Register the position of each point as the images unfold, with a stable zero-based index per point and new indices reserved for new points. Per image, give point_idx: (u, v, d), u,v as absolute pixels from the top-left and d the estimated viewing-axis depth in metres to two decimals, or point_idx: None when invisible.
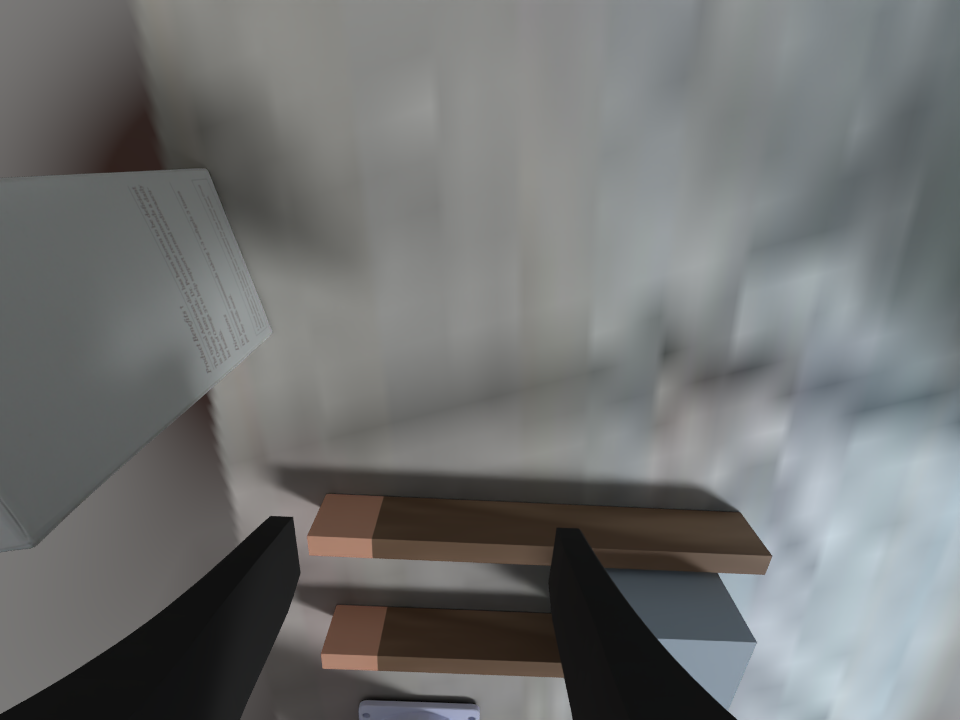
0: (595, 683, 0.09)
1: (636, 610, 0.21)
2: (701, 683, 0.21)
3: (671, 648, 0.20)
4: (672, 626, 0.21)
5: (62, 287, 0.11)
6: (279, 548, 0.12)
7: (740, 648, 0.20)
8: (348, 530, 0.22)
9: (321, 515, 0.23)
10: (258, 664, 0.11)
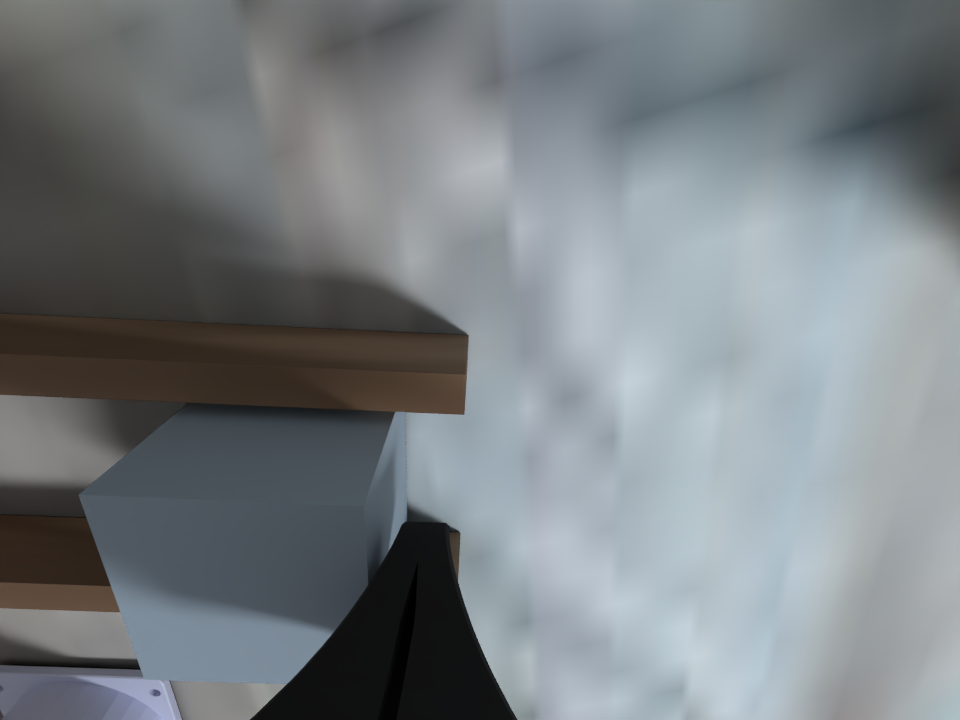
0: None
1: (174, 460, 0.11)
2: (296, 597, 0.11)
3: (199, 522, 0.10)
4: (216, 481, 0.11)
5: None
6: None
7: (337, 520, 0.10)
8: None
9: None
10: None
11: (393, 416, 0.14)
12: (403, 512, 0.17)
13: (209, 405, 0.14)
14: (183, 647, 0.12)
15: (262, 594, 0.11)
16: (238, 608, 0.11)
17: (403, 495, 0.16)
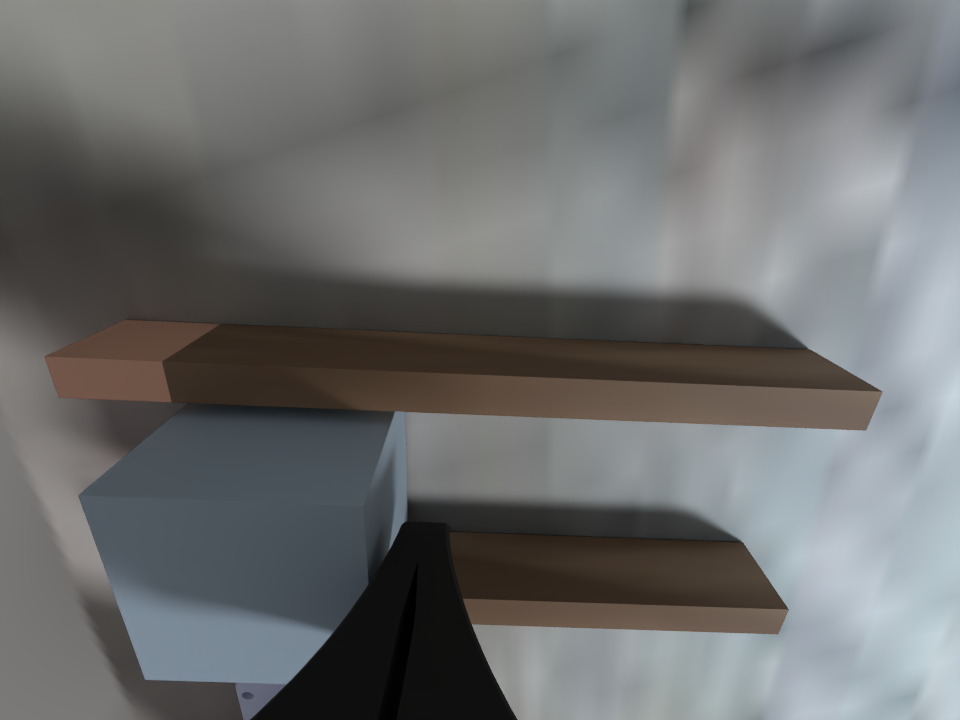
0: None
1: (173, 460, 0.11)
2: (296, 597, 0.11)
3: (200, 522, 0.10)
4: (217, 481, 0.11)
5: None
6: None
7: (337, 520, 0.10)
8: (127, 352, 0.13)
9: (94, 338, 0.13)
10: None
11: (393, 416, 0.14)
12: (403, 512, 0.17)
13: (209, 405, 0.14)
14: (183, 647, 0.12)
15: (263, 594, 0.11)
16: (238, 607, 0.11)
17: (403, 495, 0.16)
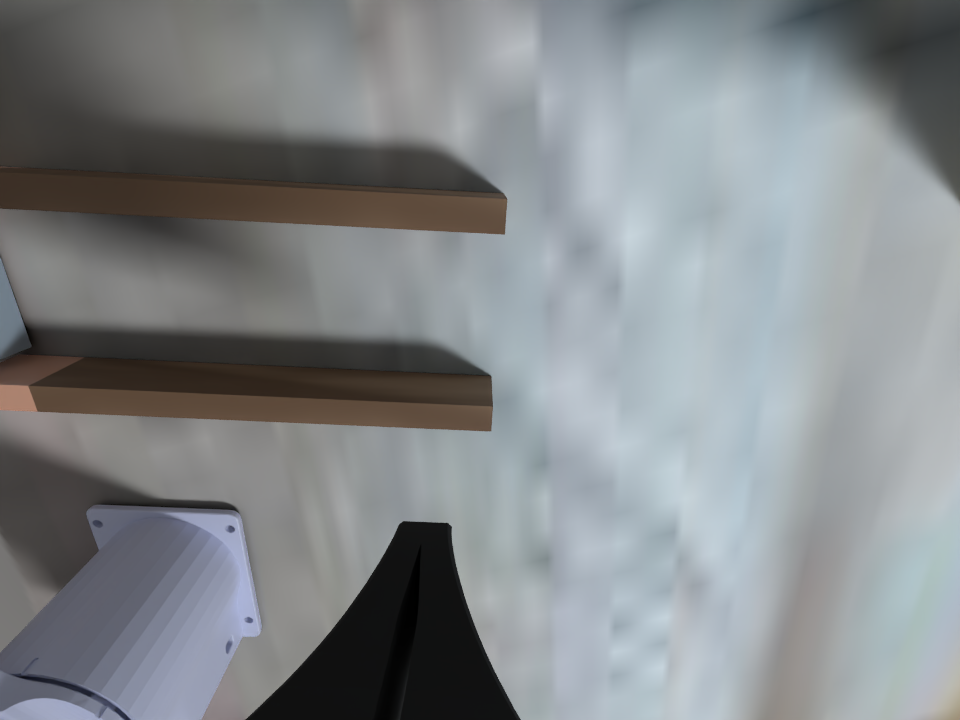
0: None
1: None
2: None
3: None
4: None
5: None
6: (421, 554, 0.12)
7: None
8: None
9: None
10: (407, 669, 0.11)
11: None
12: (4, 325, 0.20)
13: None
14: None
15: None
16: None
17: (0, 309, 0.20)
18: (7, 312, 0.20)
